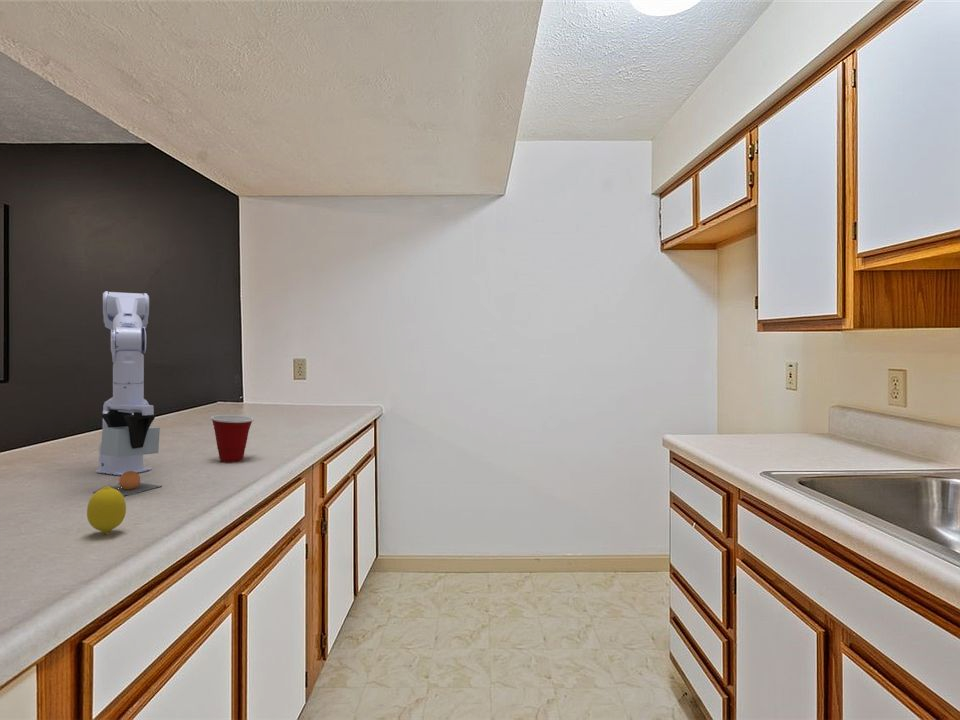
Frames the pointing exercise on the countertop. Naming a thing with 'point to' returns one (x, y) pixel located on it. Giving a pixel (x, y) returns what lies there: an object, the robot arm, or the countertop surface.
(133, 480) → the ball
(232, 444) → the plastic cup
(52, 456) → the countertop surface
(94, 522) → the lemon
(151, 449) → the pale grey rectangular box
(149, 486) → the thin grey panel
